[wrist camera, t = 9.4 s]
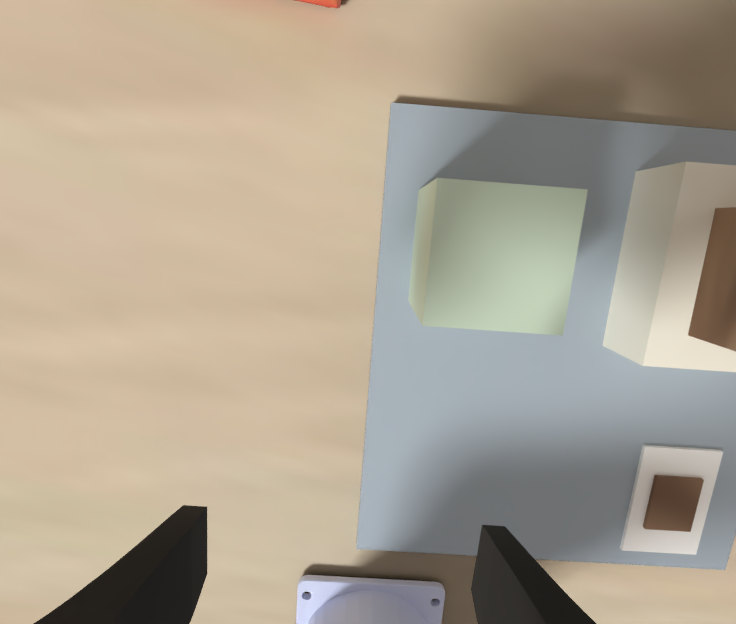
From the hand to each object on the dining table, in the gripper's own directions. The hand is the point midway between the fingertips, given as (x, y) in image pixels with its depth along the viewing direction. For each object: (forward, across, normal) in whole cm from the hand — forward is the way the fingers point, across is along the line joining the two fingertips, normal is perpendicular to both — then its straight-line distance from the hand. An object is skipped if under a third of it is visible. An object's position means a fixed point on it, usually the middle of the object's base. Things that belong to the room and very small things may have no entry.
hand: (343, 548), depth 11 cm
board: (+10, -11, -2) cm, 15 cm away
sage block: (+10, -5, -7) cm, 13 cm away
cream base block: (+10, -16, -7) cm, 20 cm away
